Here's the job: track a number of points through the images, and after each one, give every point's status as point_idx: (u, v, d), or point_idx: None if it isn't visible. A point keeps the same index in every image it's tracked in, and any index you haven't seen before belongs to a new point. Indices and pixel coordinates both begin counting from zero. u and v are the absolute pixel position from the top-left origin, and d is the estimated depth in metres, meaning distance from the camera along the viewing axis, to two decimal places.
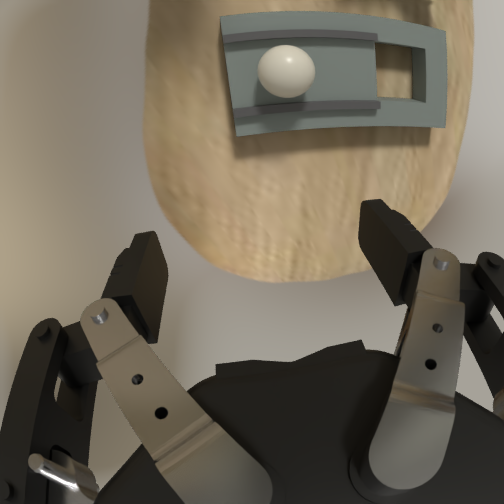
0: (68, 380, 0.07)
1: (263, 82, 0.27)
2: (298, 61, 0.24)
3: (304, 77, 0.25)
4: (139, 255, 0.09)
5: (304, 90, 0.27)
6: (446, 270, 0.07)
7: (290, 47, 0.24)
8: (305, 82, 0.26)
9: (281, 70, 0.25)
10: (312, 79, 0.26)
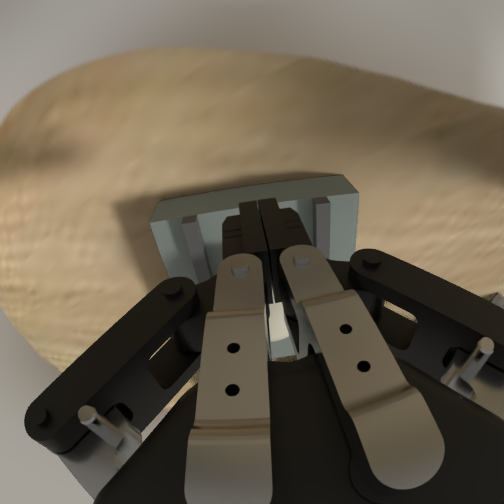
0: (177, 344, 0.08)
1: None
2: None
3: None
4: (255, 219, 0.10)
5: None
6: (301, 267, 0.08)
7: None
8: None
9: (276, 319, 0.19)
10: None
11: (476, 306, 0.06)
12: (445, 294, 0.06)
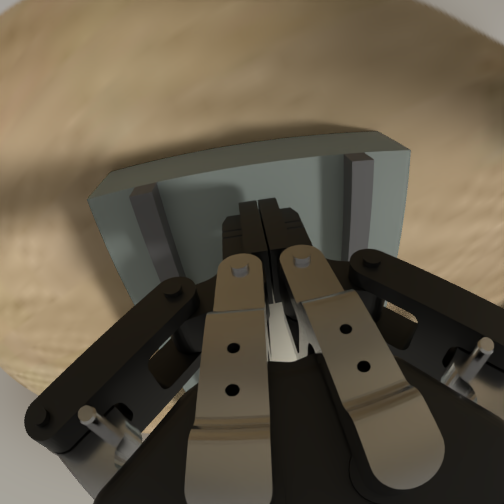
0: (177, 344, 0.08)
1: None
2: None
3: None
4: (255, 219, 0.10)
5: None
6: (301, 267, 0.08)
7: None
8: None
9: None
10: None
11: (476, 306, 0.06)
12: (446, 294, 0.06)
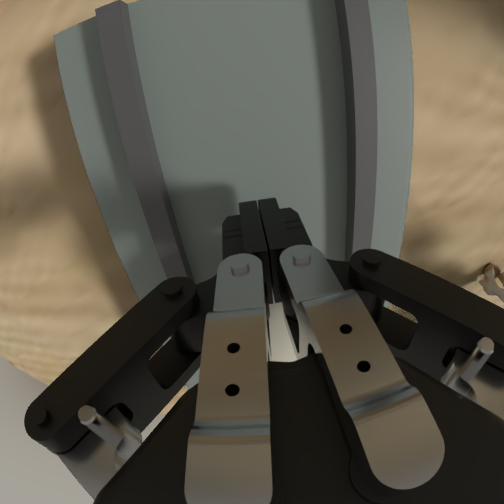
0: (177, 344, 0.08)
1: None
2: None
3: None
4: (255, 219, 0.10)
5: None
6: (301, 267, 0.08)
7: None
8: None
9: None
10: None
11: (476, 306, 0.06)
12: (446, 294, 0.06)
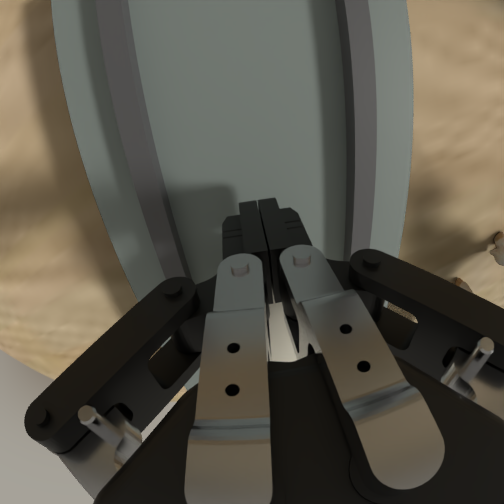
0: (177, 344, 0.08)
1: None
2: None
3: None
4: (255, 219, 0.10)
5: None
6: (301, 267, 0.08)
7: None
8: None
9: None
10: None
11: (476, 306, 0.06)
12: (445, 294, 0.06)
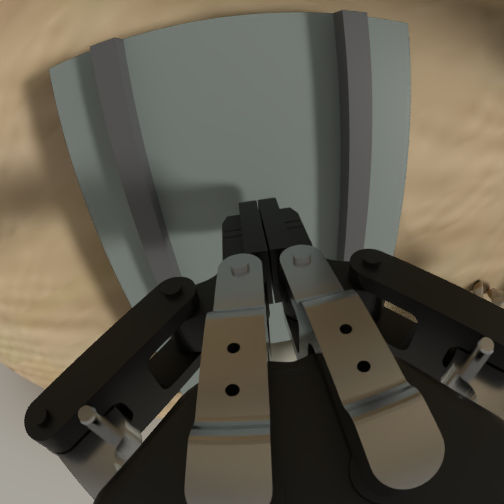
0: (177, 344, 0.08)
1: None
2: (283, 359, 0.20)
3: None
4: (255, 219, 0.10)
5: None
6: (301, 267, 0.08)
7: None
8: None
9: None
10: None
11: (476, 306, 0.06)
12: (446, 294, 0.06)
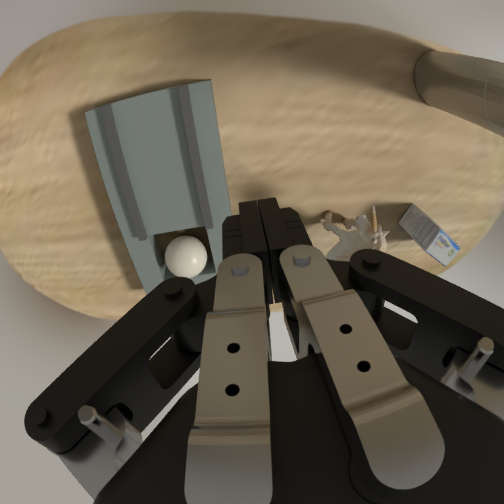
0: (177, 344, 0.08)
1: None
2: (185, 240, 0.40)
3: (173, 246, 0.40)
4: (255, 219, 0.10)
5: (166, 256, 0.40)
6: (301, 267, 0.08)
7: (199, 244, 0.41)
8: (170, 249, 0.40)
9: (180, 236, 0.41)
10: (173, 256, 0.39)
11: (476, 306, 0.06)
12: (446, 294, 0.06)
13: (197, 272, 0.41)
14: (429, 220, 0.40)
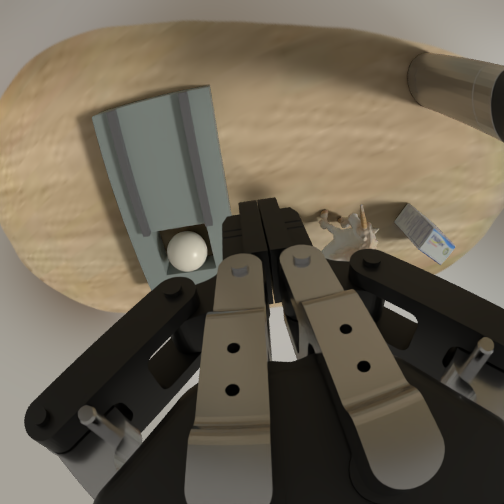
0: (177, 344, 0.08)
1: None
2: (186, 234, 0.42)
3: (175, 239, 0.42)
4: (255, 219, 0.10)
5: (168, 249, 0.42)
6: (301, 267, 0.08)
7: (200, 238, 0.43)
8: (172, 242, 0.42)
9: None
10: (174, 249, 0.42)
11: (476, 306, 0.06)
12: (446, 294, 0.06)
13: (197, 265, 0.43)
14: (423, 219, 0.42)
